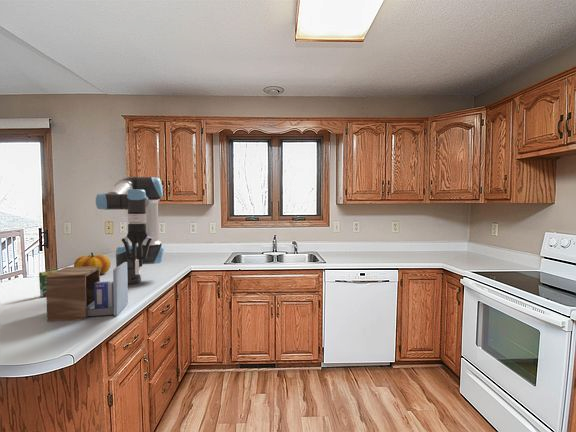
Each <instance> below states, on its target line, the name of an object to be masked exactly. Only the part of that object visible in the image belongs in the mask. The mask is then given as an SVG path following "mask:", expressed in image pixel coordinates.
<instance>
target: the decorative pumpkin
mask: <svg viewBox="0 0 576 432" xmlns="http://www.w3.org/2000/svg"><path fill="white" fill-rule="evenodd" d="M90 266H100V275H104V274H106V273H107V272H108V271H109V270H110V269H111V260H110V259H109V257H107V256H105V255H104V254H97V255H94V253H93V252H90V255H89V254H88V255H87V256H85V255H82V256H79V257H77V259H75V261H74V265H73V267H90Z"/></svg>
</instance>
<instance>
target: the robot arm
mask: <svg viewBox="0 0 576 432" xmlns="http://www.w3.org/2000/svg"><path fill="white" fill-rule="evenodd" d="M163 190H164V189H163V186H162V180H161V179H160V177H153V176H151V177H150V176H129V177H125V178H122V179H119V180H118V181H117V182H115V184H114V185H113V187H112V188H111V189H110V190H109V191H108V192H107V193H104V192H103V193H98V194H96V197H95V206H96V208H97V210H105V211H106V210H108V211H109V210H114V211H115V210H120V211H121V210H125V211H126V210H127V235H126V236H125V237H123V238H121V242H122V243H123V245H119V246H117V247H116V251H115V257H116V258H115V262H116V263H115V265H116V266H115V268H117V267H118V266H120V265H121V264H122V263H124V262H127V275H128V286H129V285H130V286H131V285H135V284H139V283H140V282H142V276H141V267H143V265H157V264H161V263H162V261H163V256H164V252H165V251H164V249H165V248H164V247H165V245H164V244H162V241H161V240H160V237H159V232H160V231H159V202H160V200H161V198H162V197H163V196H164V191H163ZM129 241H130V243H129Z"/></svg>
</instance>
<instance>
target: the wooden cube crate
mask: <svg viewBox="0 0 576 432" xmlns="http://www.w3.org/2000/svg"><path fill="white" fill-rule="evenodd" d="M58 270H59V271H57V272H54V273H52V274H50V275H48V276H46V297H45V298H46V322H47V323H49V322H51V323H52V322H62V321H63V322H64V321H75V320H77V319H79V320H86V319H87V317H88V316H87V306H88V305H90V304H91V303H92V302H93V301H94V300H95V295H94V283H96V282H101V274H100V266H90V267H74V266H72V267H70V266H67V267H66V266H65V267H63V268H61V269H58ZM77 321H78V320H77Z"/></svg>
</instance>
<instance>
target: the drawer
mask: <svg viewBox="0 0 576 432" xmlns="http://www.w3.org/2000/svg"><path fill="white" fill-rule="evenodd" d="M112 278H113V280H112V282H113V290H114V308H99V309H95V300H94V301H93V302H92V303H91V304H90V305H88V306H87V317H95V316H98V317H99V316H110V315H113V316H115V317H116V316H118V315H119V314H120V313H121V311H122V310H123V309H124V308H125V307H126V305H128V304H129V295H128V294H129V292H128V291H129V285H128V275H127V262H124V263H122V264H121V265H120V266H118V267H117V268H116V267H115V268H114V269H112Z"/></svg>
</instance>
